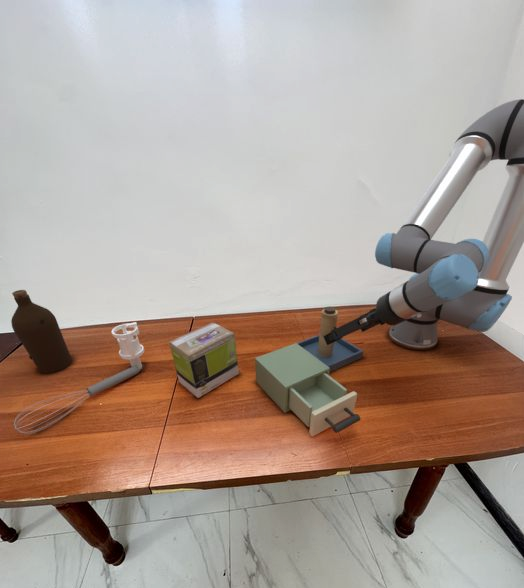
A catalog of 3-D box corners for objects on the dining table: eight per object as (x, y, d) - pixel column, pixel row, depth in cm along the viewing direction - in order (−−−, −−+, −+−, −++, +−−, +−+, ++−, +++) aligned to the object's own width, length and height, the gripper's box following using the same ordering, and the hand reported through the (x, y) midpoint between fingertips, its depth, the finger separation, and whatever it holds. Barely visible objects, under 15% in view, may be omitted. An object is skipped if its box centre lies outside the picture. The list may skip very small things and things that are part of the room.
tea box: (219, 361, 94) (213, 320, 86) (239, 375, 88) (236, 332, 80) (178, 383, 86) (167, 340, 78) (197, 400, 80) (188, 355, 72)
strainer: (150, 369, 92) (138, 327, 83) (127, 377, 89) (112, 334, 81) (145, 358, 97) (133, 317, 89) (123, 365, 94) (108, 323, 86)
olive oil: (80, 354, 99) (49, 284, 86) (64, 374, 91) (26, 298, 77) (48, 356, 99) (12, 285, 86) (29, 375, 90) (-16, 300, 77)
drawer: (366, 425, 70) (371, 404, 66) (325, 449, 64) (328, 428, 61) (317, 384, 83) (319, 365, 79) (279, 401, 77) (279, 381, 73)
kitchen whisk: (150, 372, 91) (145, 355, 87) (27, 445, 69) (13, 426, 65) (139, 365, 94) (134, 348, 90) (17, 432, 72) (4, 414, 68)
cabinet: (326, 392, 81) (330, 367, 76) (284, 413, 75) (285, 387, 70) (295, 366, 91) (296, 342, 87) (255, 382, 86) (254, 357, 81)
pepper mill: (325, 347, 99) (330, 304, 90) (335, 354, 95) (341, 309, 86) (314, 352, 97) (318, 307, 88) (324, 359, 93) (329, 313, 84)
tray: (329, 336, 106) (329, 330, 104) (362, 357, 94) (363, 351, 93) (289, 351, 98) (289, 345, 97) (320, 376, 87) (320, 369, 86)
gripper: (368, 335, 61) (315, 359, 80) (441, 306, 71) (379, 333, 90) (353, 302, 62) (304, 333, 81) (427, 278, 72) (369, 311, 91)
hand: (344, 333), depth 86 cm, fingers open, 13 cm apart
